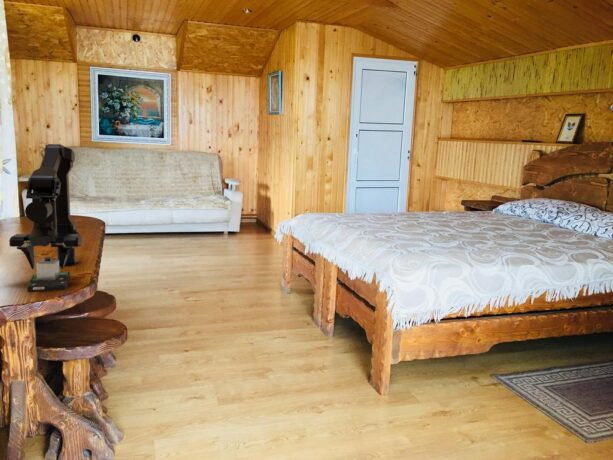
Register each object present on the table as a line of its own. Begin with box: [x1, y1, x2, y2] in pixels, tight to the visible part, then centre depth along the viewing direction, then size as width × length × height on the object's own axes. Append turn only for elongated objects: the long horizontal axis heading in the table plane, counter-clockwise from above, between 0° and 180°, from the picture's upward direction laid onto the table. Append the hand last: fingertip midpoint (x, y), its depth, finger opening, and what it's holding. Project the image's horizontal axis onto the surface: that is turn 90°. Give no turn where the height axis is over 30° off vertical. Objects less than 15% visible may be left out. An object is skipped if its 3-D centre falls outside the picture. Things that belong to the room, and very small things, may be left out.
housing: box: [35, 256, 60, 280], centre depth 161 cm, size 5×5×6 cm
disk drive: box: [26, 271, 71, 293], centre depth 162 cm, size 10×3×15 cm
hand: (47, 268), depth 161 cm, fingers open, 8 cm apart
